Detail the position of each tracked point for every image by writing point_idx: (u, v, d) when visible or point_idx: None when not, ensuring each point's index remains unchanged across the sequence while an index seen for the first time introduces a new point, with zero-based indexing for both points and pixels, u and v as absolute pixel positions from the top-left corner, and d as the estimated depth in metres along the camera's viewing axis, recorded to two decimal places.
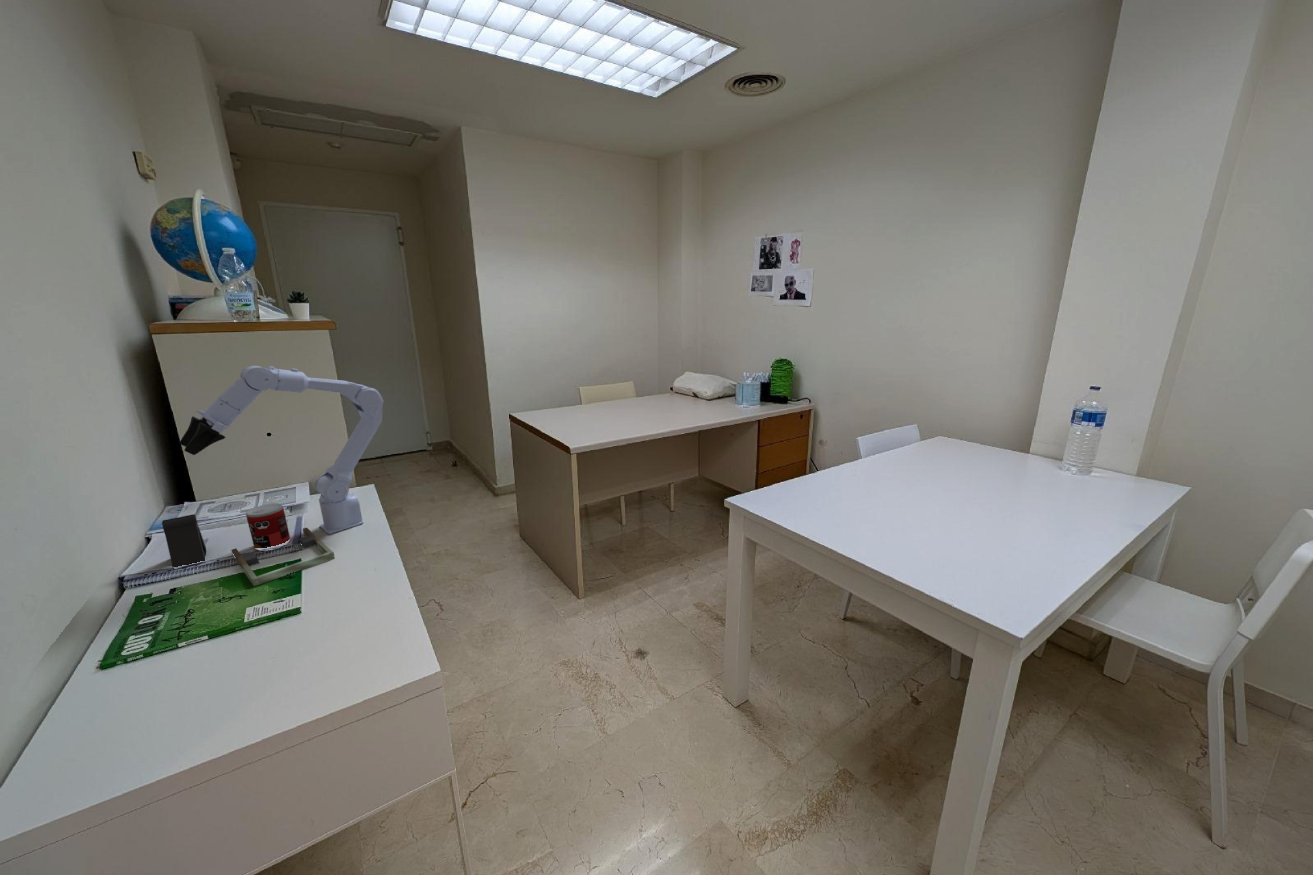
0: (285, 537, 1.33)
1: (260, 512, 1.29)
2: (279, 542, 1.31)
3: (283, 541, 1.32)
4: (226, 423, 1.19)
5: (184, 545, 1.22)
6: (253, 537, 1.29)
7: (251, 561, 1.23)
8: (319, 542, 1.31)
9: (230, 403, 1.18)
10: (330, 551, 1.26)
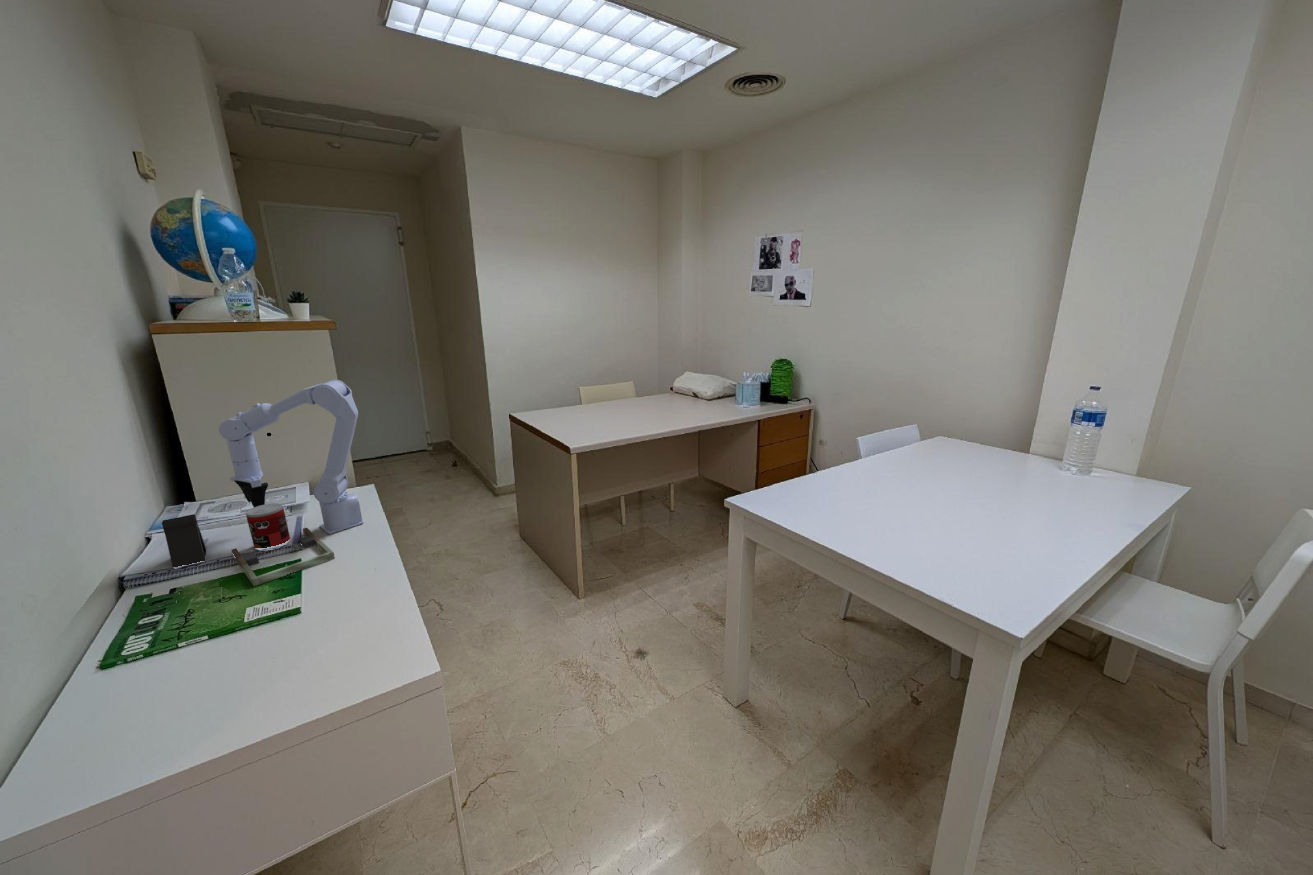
0: (285, 537, 1.33)
1: (260, 512, 1.29)
2: (279, 542, 1.31)
3: (283, 541, 1.32)
4: (257, 473, 1.34)
5: (184, 545, 1.22)
6: (253, 537, 1.29)
7: (251, 561, 1.23)
8: (319, 542, 1.31)
9: (236, 461, 1.30)
10: (330, 551, 1.26)
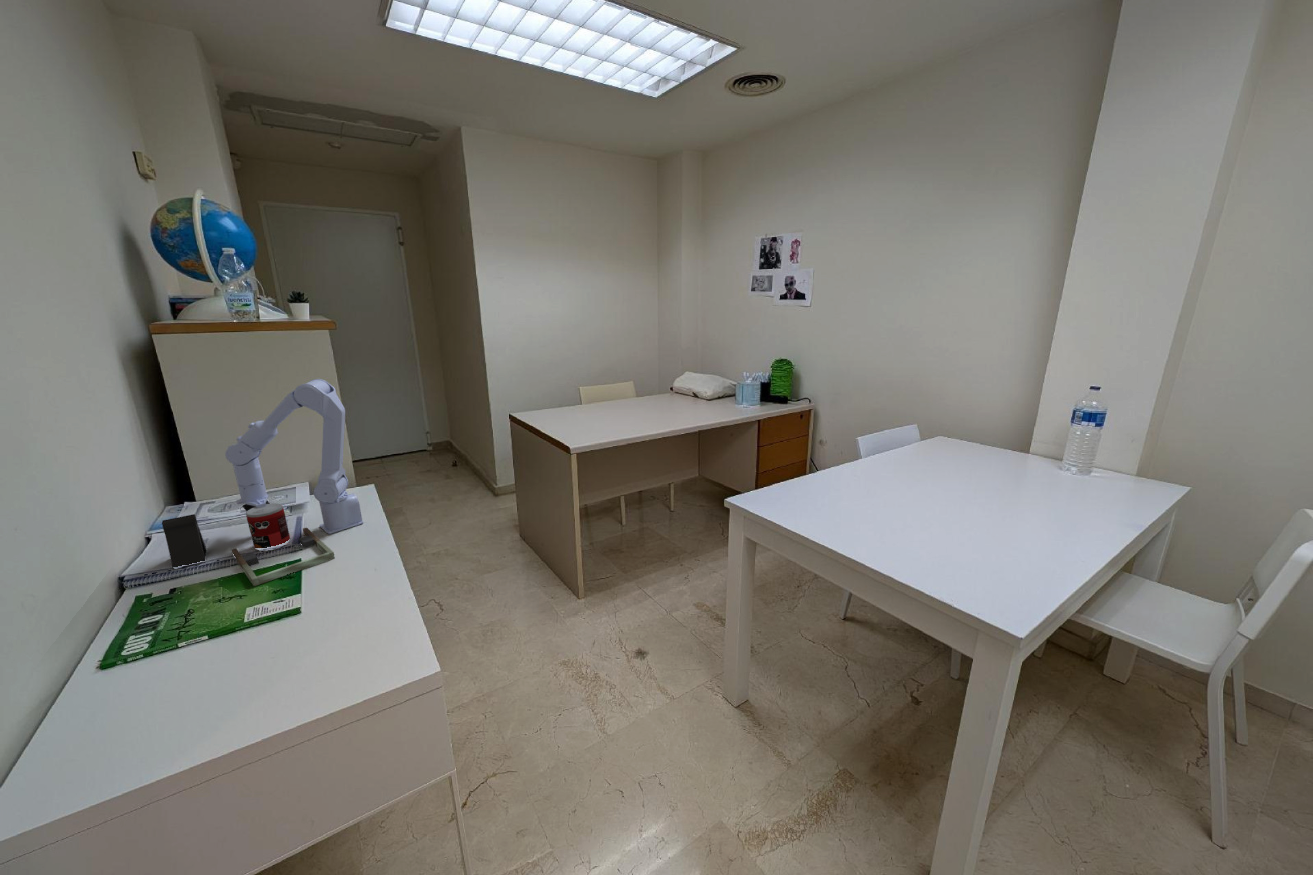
0: (285, 537, 1.33)
1: (260, 512, 1.29)
2: (279, 542, 1.31)
3: (283, 541, 1.32)
4: (263, 496, 1.36)
5: (184, 545, 1.22)
6: (253, 537, 1.29)
7: (251, 561, 1.23)
8: (319, 542, 1.31)
9: (242, 484, 1.32)
10: (330, 551, 1.26)
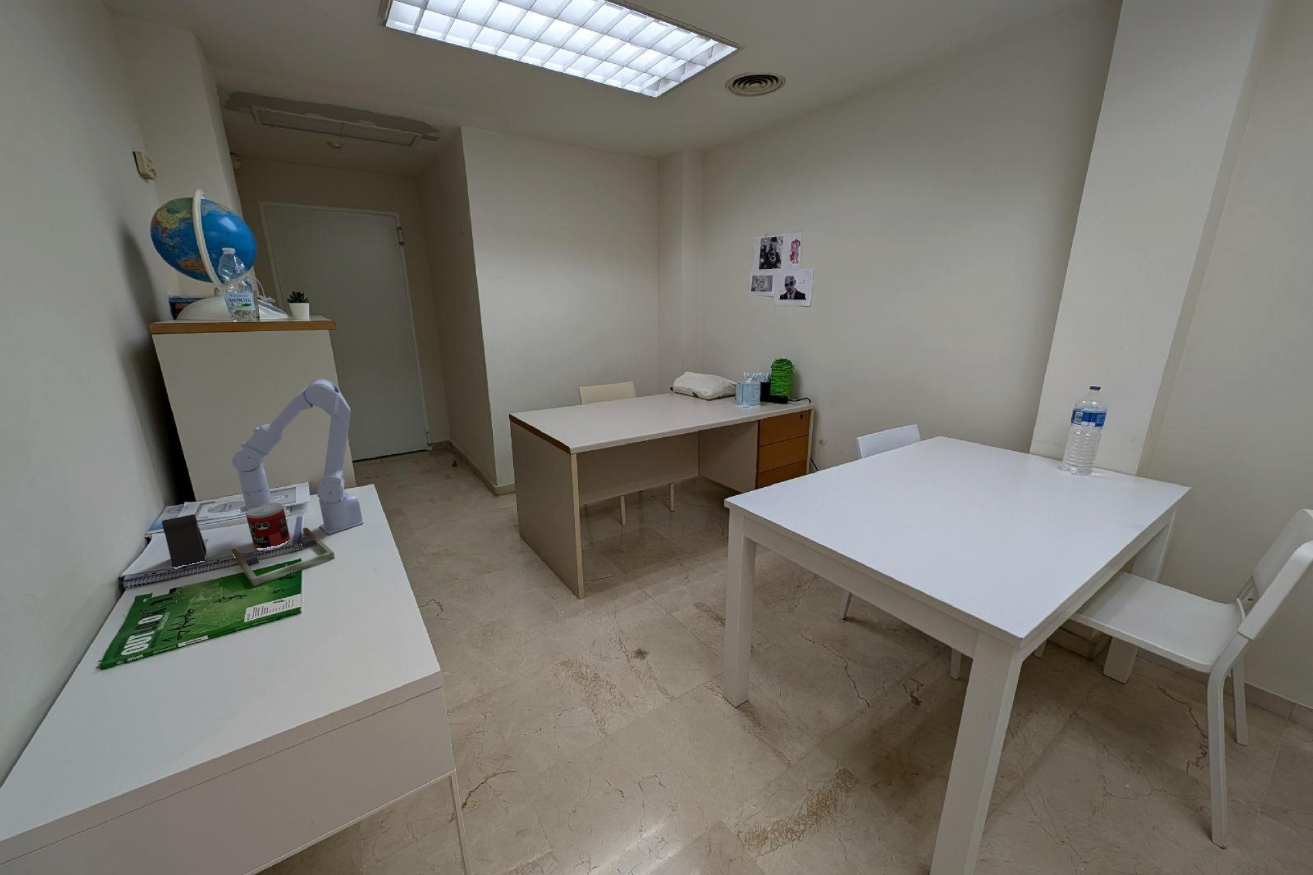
0: (285, 537, 1.32)
1: (260, 512, 1.28)
2: (279, 542, 1.31)
3: (283, 541, 1.32)
4: None
5: (184, 545, 1.22)
6: (253, 537, 1.28)
7: (251, 561, 1.23)
8: (319, 542, 1.31)
9: (249, 491, 1.29)
10: (330, 551, 1.26)
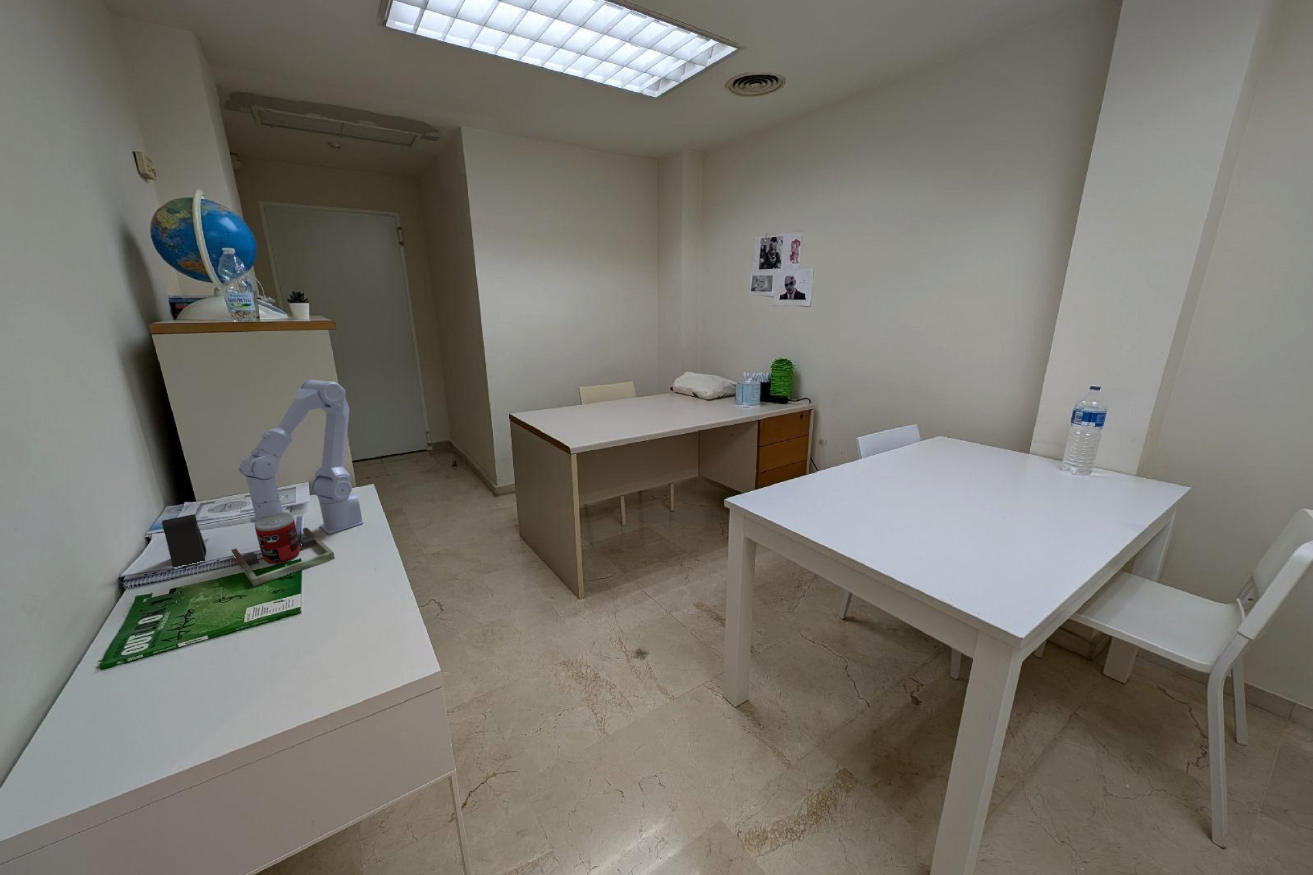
0: (295, 550, 1.26)
1: (269, 524, 1.22)
2: (289, 555, 1.25)
3: (293, 554, 1.26)
4: None
5: (184, 545, 1.22)
6: (262, 549, 1.22)
7: (251, 561, 1.23)
8: (319, 542, 1.31)
9: (268, 500, 1.23)
10: (330, 551, 1.26)
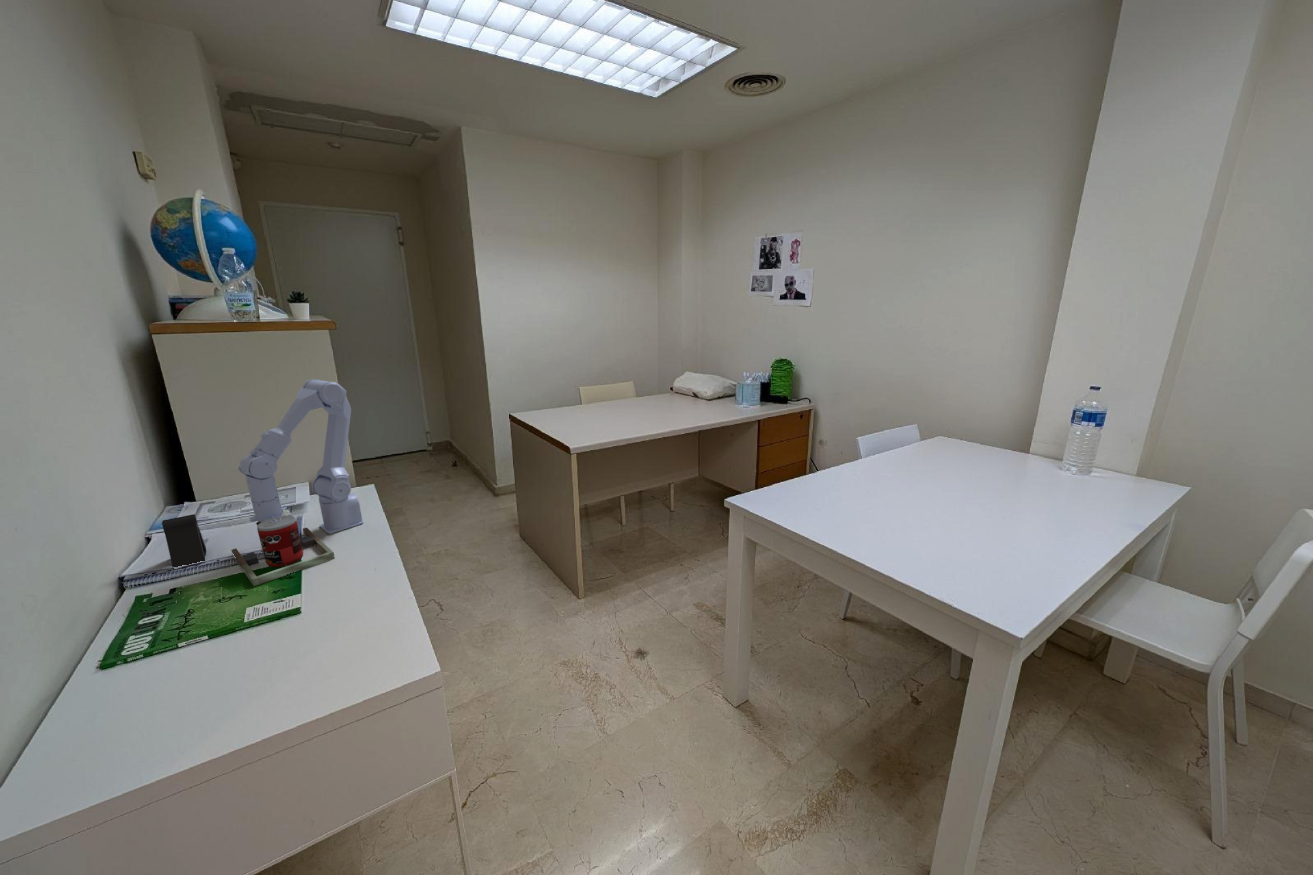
0: (297, 552, 1.25)
1: (272, 525, 1.22)
2: (291, 557, 1.24)
3: (295, 556, 1.24)
4: (278, 512, 1.27)
5: (184, 545, 1.22)
6: (264, 552, 1.21)
7: (251, 561, 1.23)
8: (319, 542, 1.31)
9: (266, 499, 1.24)
10: (330, 551, 1.26)
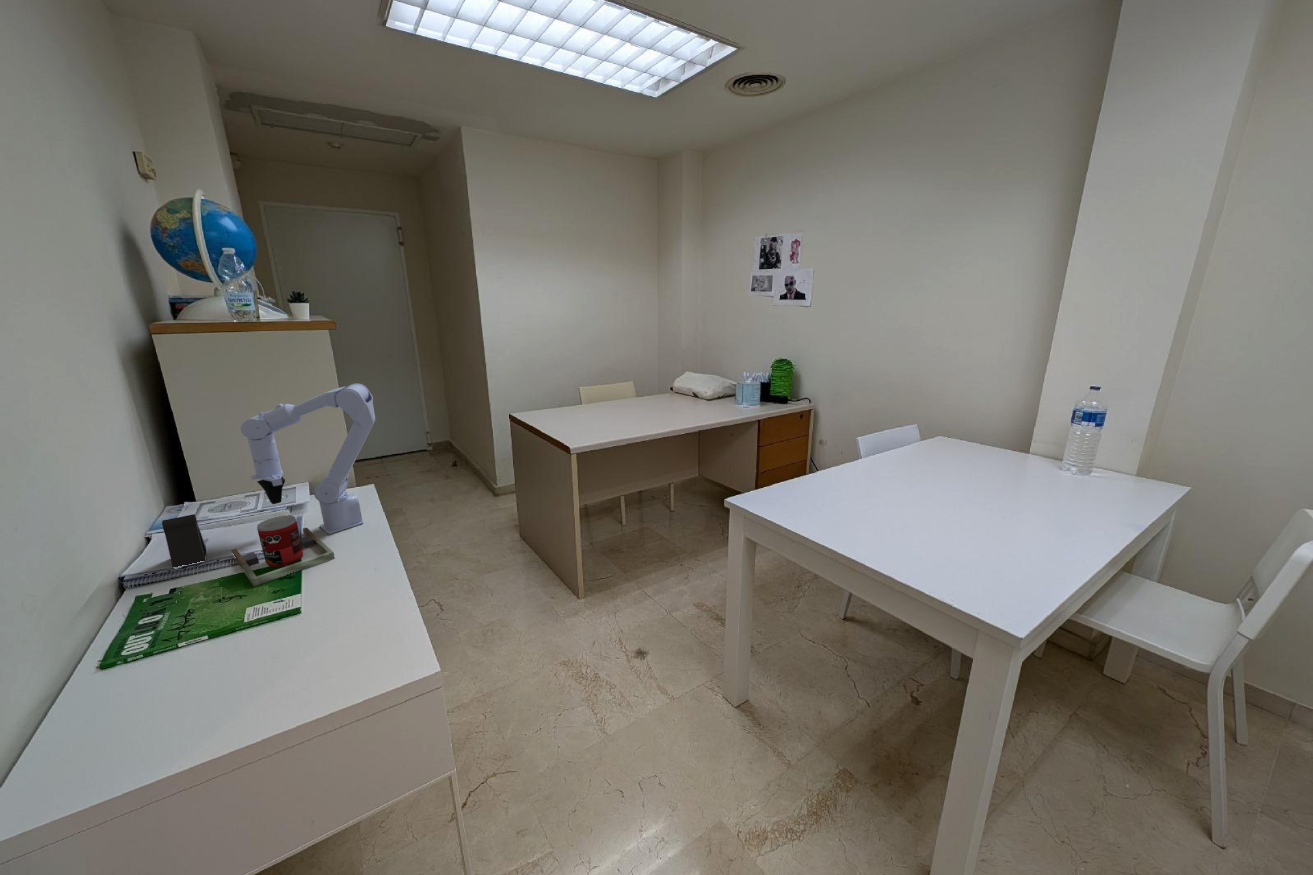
0: (297, 552, 1.25)
1: (272, 525, 1.22)
2: (291, 557, 1.24)
3: (295, 556, 1.24)
4: (278, 472, 1.35)
5: (184, 545, 1.22)
6: (264, 552, 1.21)
7: (251, 561, 1.23)
8: (319, 542, 1.31)
9: (257, 459, 1.31)
10: (330, 551, 1.26)
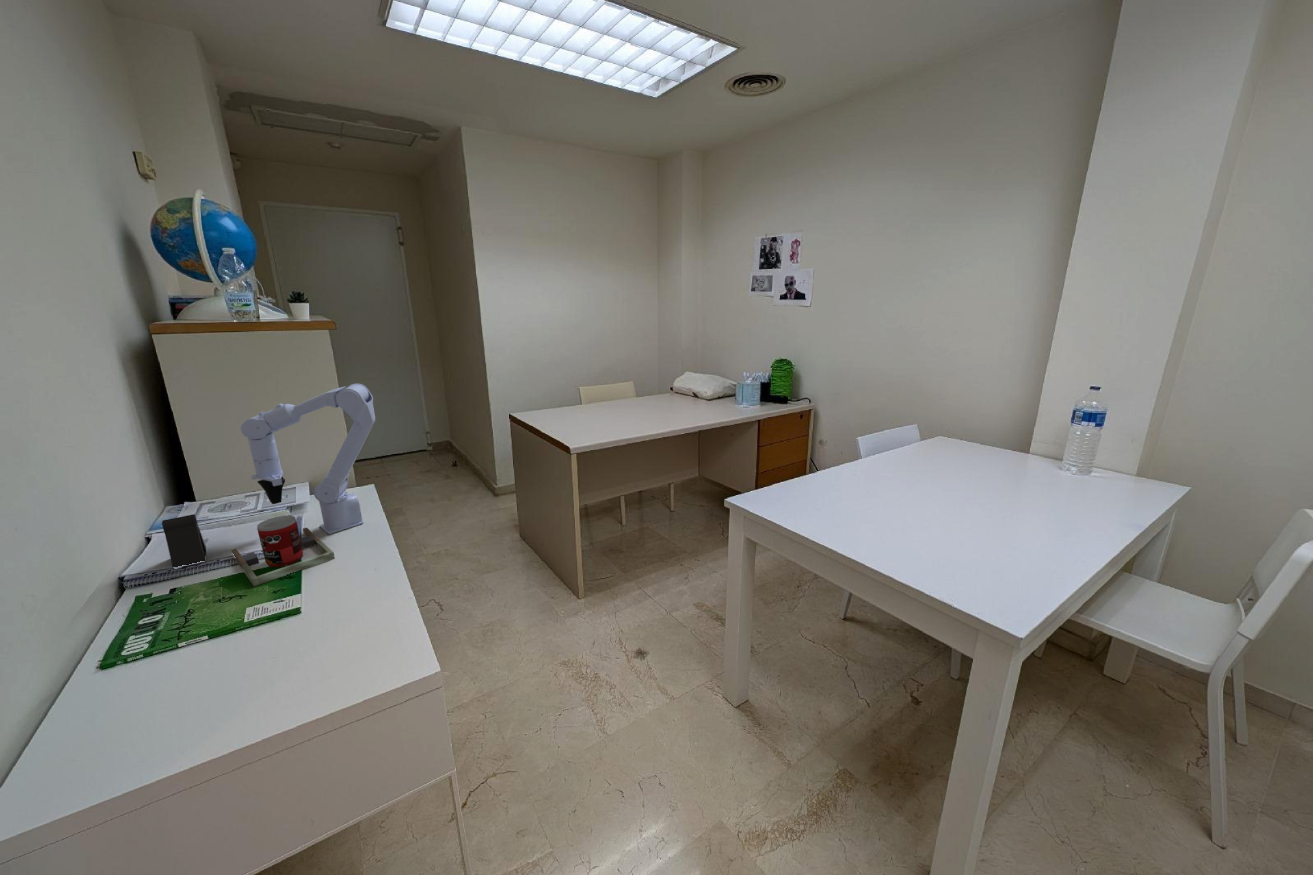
0: (297, 552, 1.25)
1: (272, 525, 1.22)
2: (291, 557, 1.24)
3: (295, 556, 1.24)
4: (278, 472, 1.35)
5: (184, 545, 1.22)
6: (264, 552, 1.21)
7: (251, 561, 1.23)
8: (319, 542, 1.31)
9: (257, 459, 1.31)
10: (330, 551, 1.26)
